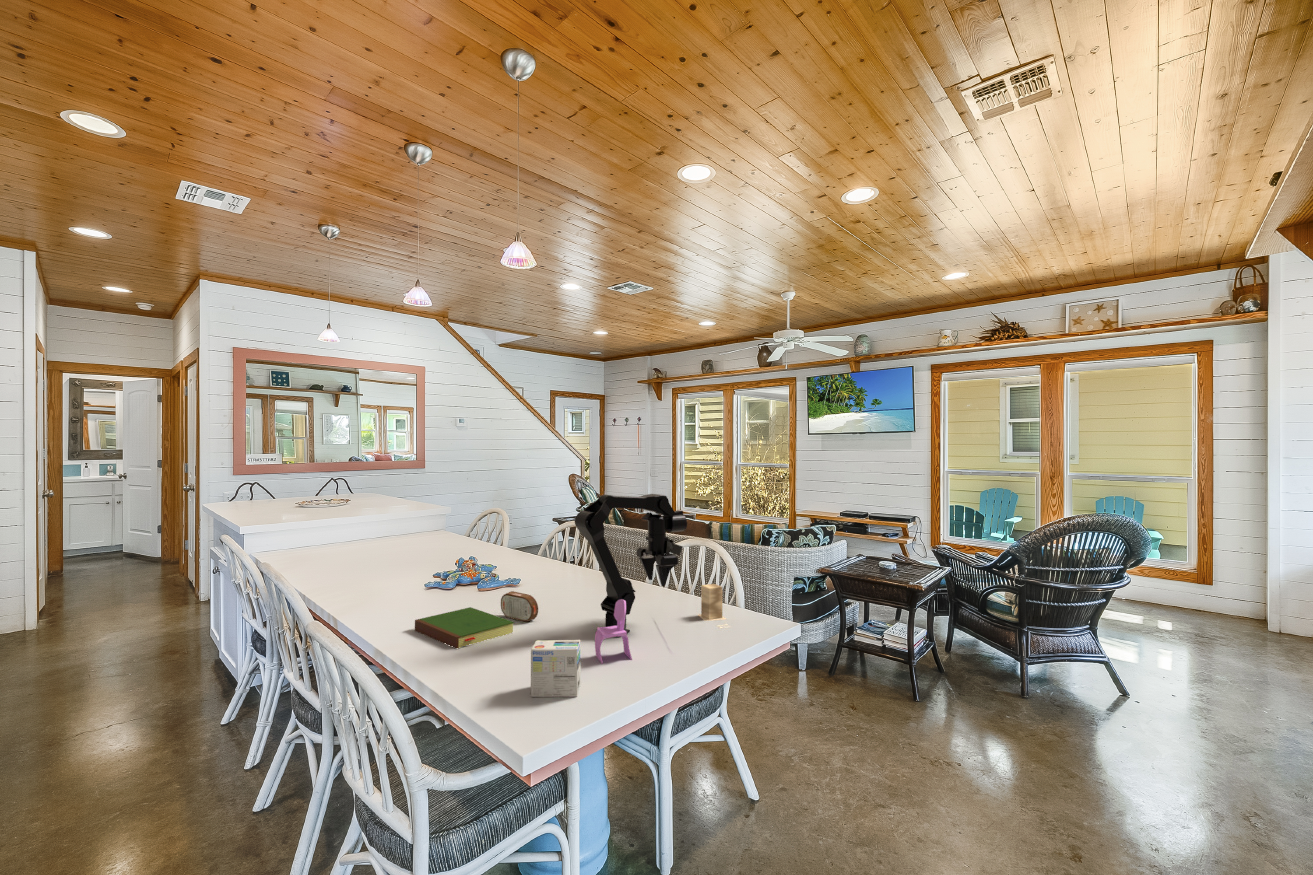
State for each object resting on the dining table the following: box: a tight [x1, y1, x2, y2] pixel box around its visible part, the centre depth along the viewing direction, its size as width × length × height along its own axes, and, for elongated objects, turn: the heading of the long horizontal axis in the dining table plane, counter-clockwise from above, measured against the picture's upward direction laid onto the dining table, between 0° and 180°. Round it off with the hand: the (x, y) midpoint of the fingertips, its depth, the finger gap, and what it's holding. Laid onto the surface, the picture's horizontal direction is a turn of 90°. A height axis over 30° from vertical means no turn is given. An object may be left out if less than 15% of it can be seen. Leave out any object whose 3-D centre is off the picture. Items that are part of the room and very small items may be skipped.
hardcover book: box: [414, 606, 515, 649], centre depth 170 cm, size 25×19×4 cm
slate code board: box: [696, 613, 731, 629], centre depth 180 cm, size 24×14×1 cm, turn 15°
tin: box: [500, 590, 539, 623], centre depth 184 cm, size 15×3×8 cm, turn 58°
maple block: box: [700, 583, 723, 620], centre depth 185 cm, size 5×5×10 cm
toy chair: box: [594, 599, 633, 665], centre depth 150 cm, size 8×9×15 cm
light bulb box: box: [530, 639, 581, 698], centre depth 129 cm, size 11×7×11 cm, turn 92°
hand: (656, 582), depth 179 cm, fingers open, 9 cm apart
